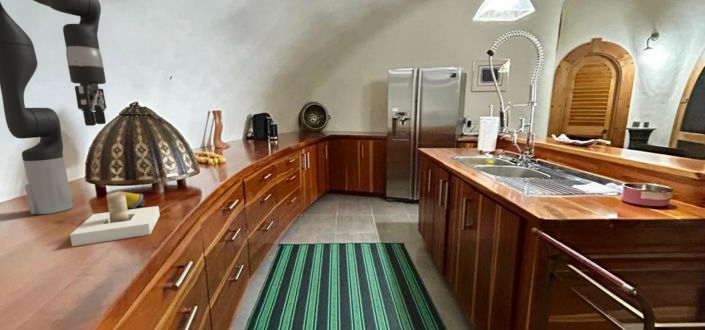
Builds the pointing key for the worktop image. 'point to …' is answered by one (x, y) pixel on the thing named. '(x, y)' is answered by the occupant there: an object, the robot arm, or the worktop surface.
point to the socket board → (115, 226)
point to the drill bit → (134, 200)
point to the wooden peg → (117, 207)
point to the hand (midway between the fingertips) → (96, 124)
